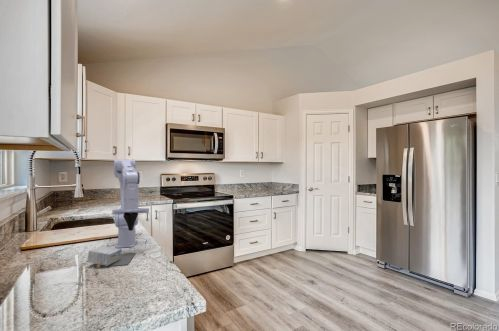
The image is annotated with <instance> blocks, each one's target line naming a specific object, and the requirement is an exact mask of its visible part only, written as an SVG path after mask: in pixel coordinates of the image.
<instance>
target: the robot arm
mask: <svg viewBox="0 0 499 331" xmlns="http://www.w3.org/2000/svg"><path fill="white" fill-rule="evenodd" d="M113 175H114V177H115V178H117V179H118V182H119V190H120V192H119V194H120V196H119V197H120V208H118V209H117V208H116V209H115V208H114V209H112V211H111V214H112V215H113V216H114V225H115V227H116V228H117V231H118V233H117V235H118V236H117V245H115V247H114V248H118V249H123V248H134V247H135V245H136V244H137V243H138V240H136V226H137V225H138V224H139V214H149V213H150V208H149V207H139V185H140V180H141V178H140V177H141V176H140V175H141V174H140V171H136V160H135V159H117V158H115V159H114V160H113ZM136 242H137V243H136Z"/></svg>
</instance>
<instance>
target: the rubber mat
mask: <svg viewBox="0 0 499 331" xmlns="http://www.w3.org/2000/svg"><path fill="white" fill-rule="evenodd" d="M136 254H137V253H136V252H126V253H121V257H120V260H118V261H116V262H114V263H112V264H110V265H108V266H106V265H102V267H101V268H110V267H123V266H129V264H130V262H131V261H132V259H133V258H134V256H135V255H136Z"/></svg>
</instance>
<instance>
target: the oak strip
mask: <svg viewBox="0 0 499 331" xmlns="http://www.w3.org/2000/svg"><path fill="white" fill-rule="evenodd" d="M102 266H103V265H101V264H96V270H97V269H98V270H99V269H101V268H103V267H102Z"/></svg>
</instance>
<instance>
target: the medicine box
mask: <svg viewBox="0 0 499 331" xmlns="http://www.w3.org/2000/svg"><path fill="white" fill-rule="evenodd" d="M122 249H123V248H115V247H112V246H107V245H101V246H99V247H96V248H94V249H93V248H92V249H90V250H89V251H88V254H87V260H86V262H87V263H91V264H96V265H98V264H101V265H102V266H103V265H106V266H108V265H110V264H112V263H114V262H116V261H118V260H120V257H121V254H122Z"/></svg>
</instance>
